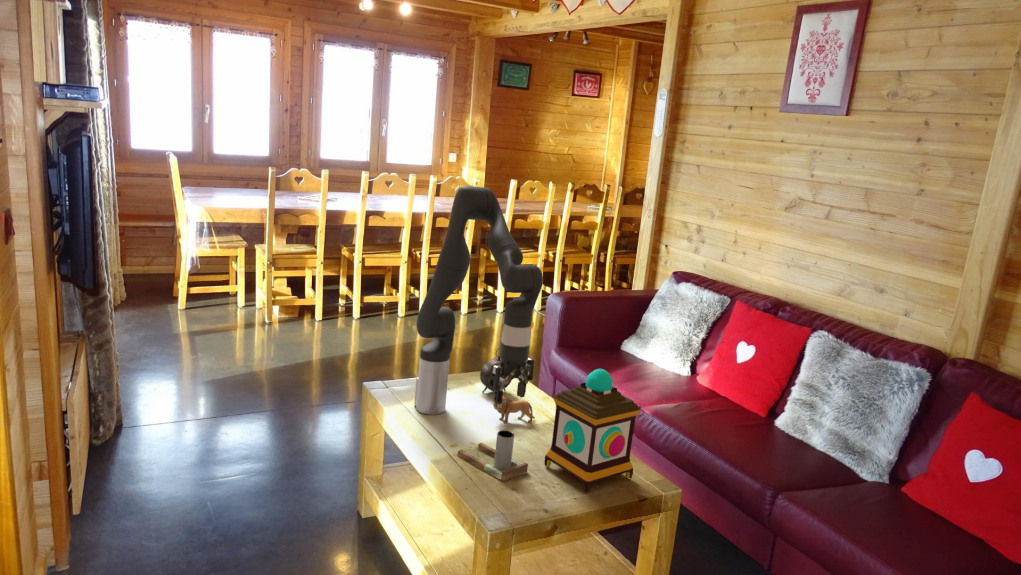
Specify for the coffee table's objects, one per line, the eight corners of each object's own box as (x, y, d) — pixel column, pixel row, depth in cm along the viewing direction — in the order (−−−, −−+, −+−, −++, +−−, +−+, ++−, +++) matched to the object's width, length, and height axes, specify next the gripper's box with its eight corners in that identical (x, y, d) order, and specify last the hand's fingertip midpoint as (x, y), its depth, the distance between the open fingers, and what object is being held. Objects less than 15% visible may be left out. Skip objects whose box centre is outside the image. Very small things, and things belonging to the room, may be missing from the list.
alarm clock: (505, 388, 257) (510, 344, 253) (513, 394, 252) (518, 349, 249) (477, 391, 251) (482, 346, 248) (485, 397, 247) (489, 351, 243)
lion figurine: (494, 426, 225) (497, 398, 223) (488, 419, 229) (490, 392, 227) (538, 422, 231) (541, 395, 229) (530, 416, 235) (533, 389, 233)
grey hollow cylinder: (508, 474, 195) (512, 438, 193) (491, 471, 196) (495, 435, 193) (511, 467, 199) (515, 431, 197) (495, 464, 200) (499, 429, 198)
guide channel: (457, 455, 203) (458, 447, 202) (480, 447, 209) (481, 439, 209) (503, 481, 191) (504, 472, 190) (527, 472, 197) (528, 463, 197)
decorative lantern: (536, 465, 202) (548, 361, 195) (588, 451, 214) (601, 353, 207) (586, 498, 187) (600, 387, 180) (639, 481, 199) (655, 376, 192)
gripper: (523, 333, 197) (517, 390, 201) (485, 340, 187) (479, 400, 190) (544, 340, 192) (537, 399, 196) (506, 349, 182) (500, 410, 185)
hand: (509, 399), depth 193 cm, fingers open, 8 cm apart
